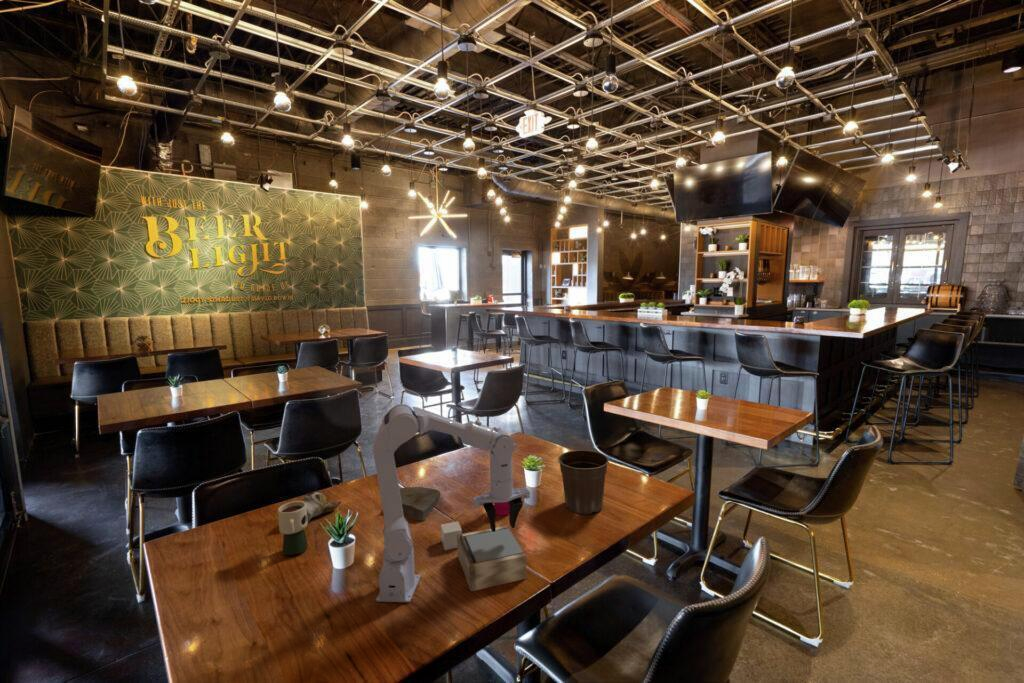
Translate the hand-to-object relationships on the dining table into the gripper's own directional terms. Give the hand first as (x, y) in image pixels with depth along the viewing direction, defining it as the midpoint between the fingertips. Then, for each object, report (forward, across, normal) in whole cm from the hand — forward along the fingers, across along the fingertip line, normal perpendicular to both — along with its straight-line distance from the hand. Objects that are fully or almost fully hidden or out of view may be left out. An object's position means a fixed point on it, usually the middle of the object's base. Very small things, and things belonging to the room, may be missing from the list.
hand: (502, 528), depth 116 cm
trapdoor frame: (+10, +2, 0) cm, 10 cm away
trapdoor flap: (+5, +2, 0) cm, 6 cm away
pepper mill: (+10, -8, -27) cm, 30 cm away
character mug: (+10, +53, -26) cm, 59 cm away
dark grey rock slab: (+10, +19, -40) cm, 45 cm away
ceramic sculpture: (+10, +50, -45) cm, 68 cm away
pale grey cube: (+10, +11, -14) cm, 20 cm away
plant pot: (+10, -34, -21) cm, 41 cm away
